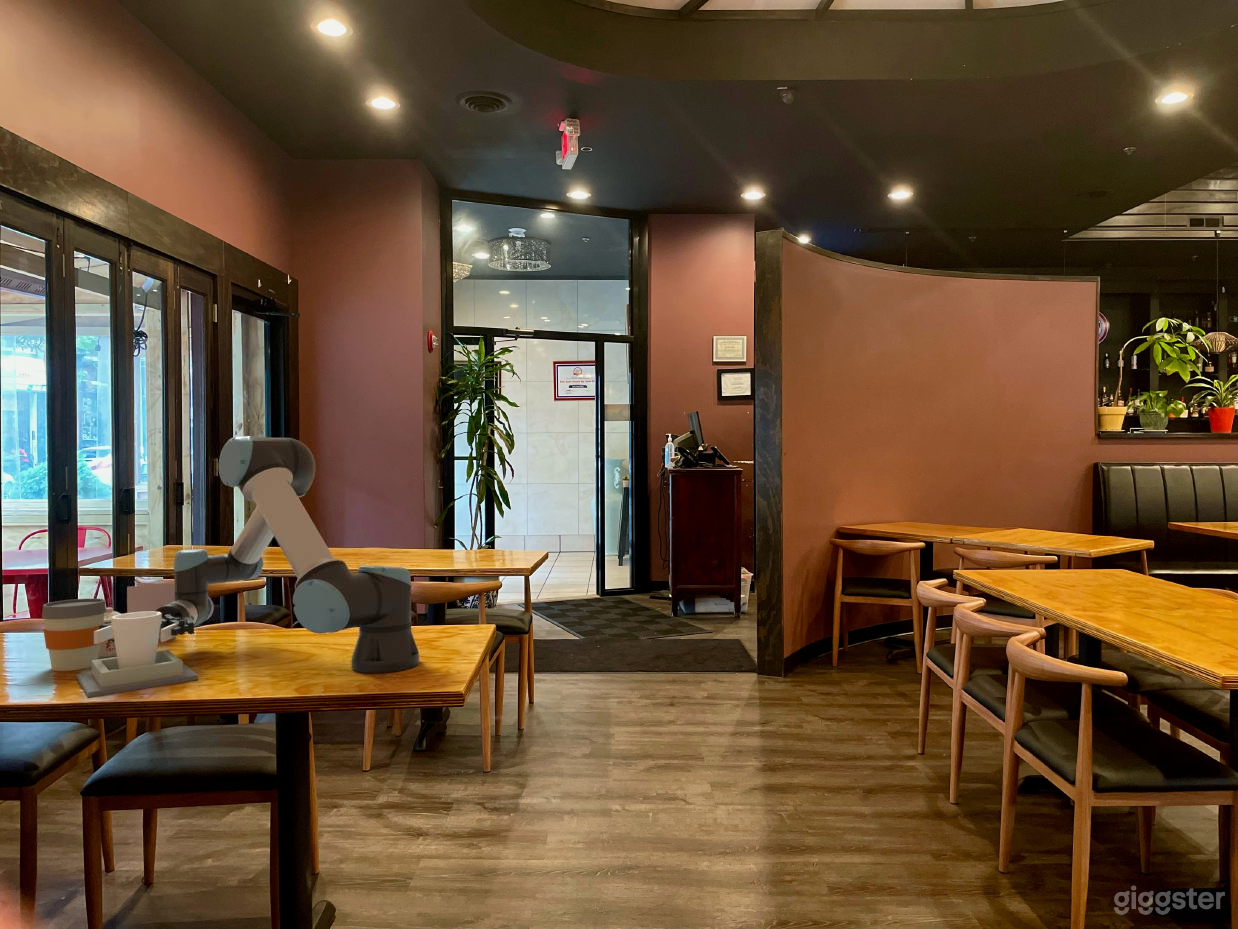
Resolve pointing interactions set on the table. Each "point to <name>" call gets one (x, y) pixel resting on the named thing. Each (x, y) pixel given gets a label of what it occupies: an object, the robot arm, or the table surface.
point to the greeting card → (149, 597)
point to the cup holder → (134, 675)
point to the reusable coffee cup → (72, 632)
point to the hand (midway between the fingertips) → (129, 636)
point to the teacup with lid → (109, 645)
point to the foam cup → (136, 638)
